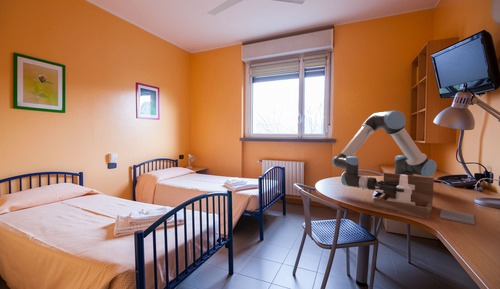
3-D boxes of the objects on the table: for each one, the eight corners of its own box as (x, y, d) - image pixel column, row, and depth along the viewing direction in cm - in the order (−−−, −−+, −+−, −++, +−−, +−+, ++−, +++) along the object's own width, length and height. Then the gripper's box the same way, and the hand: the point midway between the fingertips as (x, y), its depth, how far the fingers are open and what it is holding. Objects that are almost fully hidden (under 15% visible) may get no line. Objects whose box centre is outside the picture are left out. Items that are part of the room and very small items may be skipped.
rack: (383, 197, 140) (384, 172, 138) (432, 206, 123) (433, 177, 122) (373, 207, 123) (373, 179, 122) (428, 218, 107) (429, 186, 105)
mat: (441, 210, 117) (441, 208, 117) (473, 215, 109) (473, 214, 109) (439, 218, 107) (439, 216, 107) (474, 225, 99) (474, 224, 99)
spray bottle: (407, 204, 125) (408, 173, 124) (412, 209, 119) (413, 176, 118) (393, 204, 127) (394, 173, 126) (398, 208, 121) (399, 176, 119)
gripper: (373, 185, 143) (416, 191, 127) (362, 193, 127) (409, 201, 112) (373, 174, 142) (416, 179, 127) (362, 180, 127) (410, 187, 111)
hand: (413, 189), depth 119 cm, fingers open, 9 cm apart
